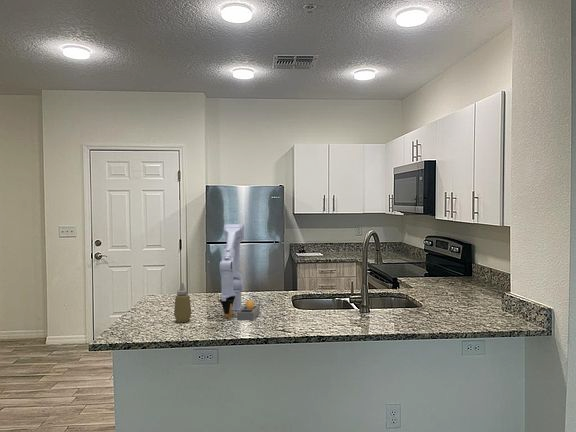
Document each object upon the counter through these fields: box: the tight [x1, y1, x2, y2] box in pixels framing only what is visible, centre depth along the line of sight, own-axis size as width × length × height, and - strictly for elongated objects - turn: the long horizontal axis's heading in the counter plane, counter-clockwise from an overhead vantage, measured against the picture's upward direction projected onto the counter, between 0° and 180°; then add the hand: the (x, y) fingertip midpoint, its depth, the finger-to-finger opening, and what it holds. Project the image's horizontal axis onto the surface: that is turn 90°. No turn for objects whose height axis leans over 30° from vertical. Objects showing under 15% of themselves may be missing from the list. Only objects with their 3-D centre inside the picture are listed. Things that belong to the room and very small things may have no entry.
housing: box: [236, 300, 261, 321], centre depth 221 cm, size 8×14×6 cm, turn 172°
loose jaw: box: [223, 304, 233, 319], centre depth 222 cm, size 4×4×6 cm
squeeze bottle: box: [173, 282, 192, 323], centre depth 214 cm, size 8×8×18 cm
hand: (228, 312), depth 222 cm, fingers closed on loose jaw, 4 cm apart
